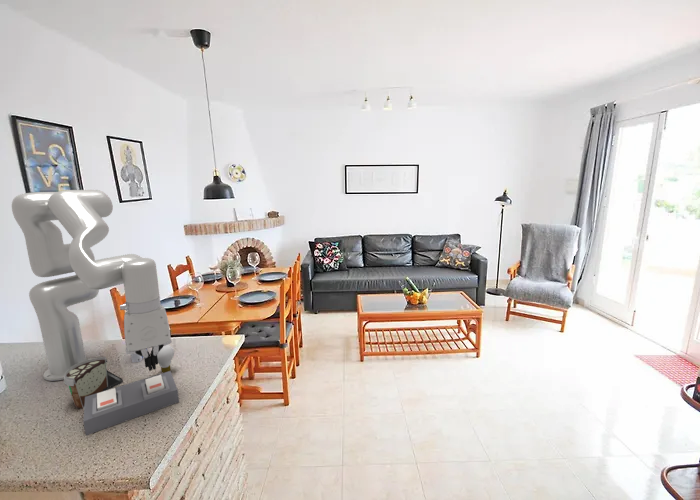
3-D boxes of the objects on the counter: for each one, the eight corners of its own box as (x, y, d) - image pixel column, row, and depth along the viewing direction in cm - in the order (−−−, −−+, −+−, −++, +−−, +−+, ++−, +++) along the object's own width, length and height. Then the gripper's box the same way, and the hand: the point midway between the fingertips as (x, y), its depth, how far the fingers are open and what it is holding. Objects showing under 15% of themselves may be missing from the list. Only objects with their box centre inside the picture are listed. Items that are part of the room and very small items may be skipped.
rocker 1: (97, 396, 88) (96, 393, 87) (115, 391, 90) (115, 387, 90) (98, 411, 84) (97, 407, 83) (117, 405, 86) (116, 401, 85)
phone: (101, 367, 111) (123, 379, 104) (102, 370, 111) (124, 383, 104) (73, 378, 105) (94, 393, 97) (73, 381, 105) (95, 396, 97)
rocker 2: (145, 383, 94) (145, 379, 94) (161, 378, 96) (160, 374, 96) (148, 394, 90) (147, 390, 90) (164, 388, 92) (164, 385, 92)
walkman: (139, 352, 122) (134, 322, 120) (147, 351, 123) (143, 321, 121) (131, 362, 115) (126, 331, 113) (140, 361, 116) (135, 330, 113)
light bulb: (167, 379, 105) (163, 350, 103) (152, 377, 106) (147, 348, 104) (180, 369, 111) (177, 341, 109) (165, 367, 112) (161, 340, 110)
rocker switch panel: (87, 409, 91) (84, 393, 90) (171, 382, 103) (170, 367, 102) (85, 435, 82) (82, 417, 81) (179, 401, 94) (177, 386, 93)
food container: (92, 385, 102) (87, 355, 100) (111, 385, 102) (106, 355, 100) (56, 411, 90) (49, 379, 88) (78, 412, 90) (72, 379, 88)
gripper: (109, 316, 79) (119, 384, 83) (178, 303, 88) (184, 365, 92) (108, 307, 85) (118, 370, 89) (173, 295, 94) (179, 354, 98)
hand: (152, 367), depth 90 cm, fingers closed
